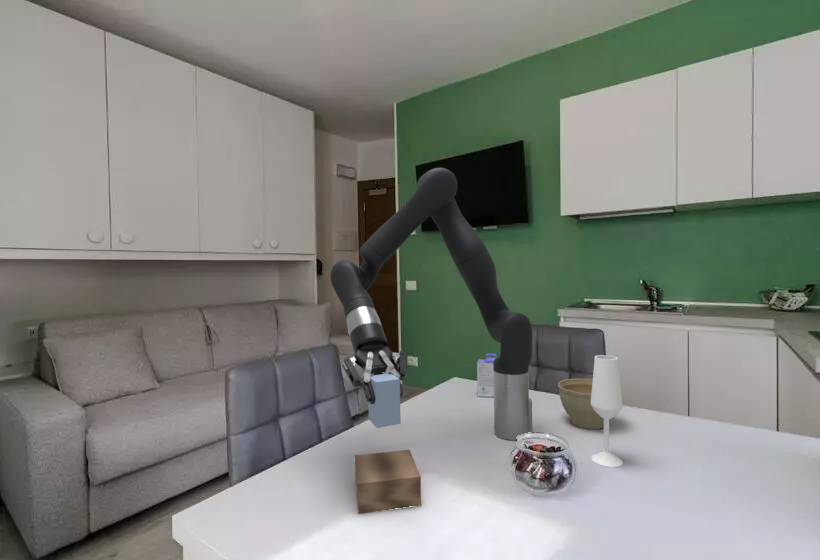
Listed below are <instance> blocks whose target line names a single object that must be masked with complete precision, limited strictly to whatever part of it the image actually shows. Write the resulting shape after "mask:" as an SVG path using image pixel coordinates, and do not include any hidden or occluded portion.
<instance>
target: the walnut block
mask: <svg viewBox="0 0 820 560" xmlns="http://www.w3.org/2000/svg"><path fill="white" fill-rule="evenodd" d="M412 454H413V453H412V452H411V450H410V449H403V450H393V451H392V450H391V451H385V452H384V451H383V452H373V453H372V452H371V453H364V454H362V453H361V454H354V474H355V475H354V477H355V479H354V480H355V490H356V491H355V492H356V502H357V512H358V514H359V515H360V514H368V513H377V512H376V511H378V512H383V511H382V510H386V511H390V510H389V509H394V510H396V509H395V508H402V509H404V508H403V507H409V506H418V507H420V506H419V505H421V506H422V482H421V480H422V479H421V475H420V472H419V470H418V467H417V464H416V461H415V460H414V459H415V458H414V457H413V455H412Z"/></svg>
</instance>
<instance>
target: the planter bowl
mask: <svg viewBox="0 0 820 560" xmlns="http://www.w3.org/2000/svg"><path fill="white" fill-rule="evenodd" d="M592 382H593V378H568V379H567V378H566V379H563V380H561V381H559V382H558V385H557V387H558V391H559V392H558V393H559V399H560V402H561V405H562V406H563V409H564V411H565V412H566V414H567V416H568V417H569V418H570V422H571V423H572V424H573V425H575V426H577V427H580V428H584V429H595V430H596V429H604V418H602V417H601V416H599V415H598V414H597V413H596V412H595V411H594V409H593V408H592V406H591V392H592Z"/></svg>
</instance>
